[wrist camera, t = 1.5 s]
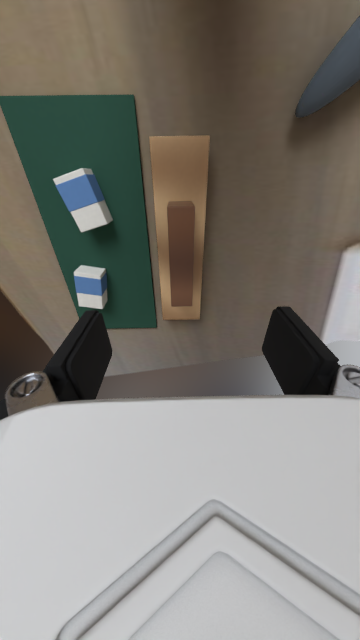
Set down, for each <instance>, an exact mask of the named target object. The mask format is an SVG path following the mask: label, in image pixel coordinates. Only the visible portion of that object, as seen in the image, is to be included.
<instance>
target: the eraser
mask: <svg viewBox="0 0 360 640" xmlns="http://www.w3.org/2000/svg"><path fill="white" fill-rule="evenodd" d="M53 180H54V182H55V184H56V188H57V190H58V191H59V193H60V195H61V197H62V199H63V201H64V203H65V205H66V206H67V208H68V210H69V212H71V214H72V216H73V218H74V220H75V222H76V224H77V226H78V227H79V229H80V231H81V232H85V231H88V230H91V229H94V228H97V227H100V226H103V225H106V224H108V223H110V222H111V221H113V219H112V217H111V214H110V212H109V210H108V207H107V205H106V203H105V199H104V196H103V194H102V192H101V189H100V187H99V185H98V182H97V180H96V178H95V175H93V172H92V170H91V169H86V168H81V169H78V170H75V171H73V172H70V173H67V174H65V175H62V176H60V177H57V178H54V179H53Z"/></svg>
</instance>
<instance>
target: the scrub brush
mask: <svg viewBox="0 0 360 640" xmlns="http://www.w3.org/2000/svg"><path fill="white" fill-rule="evenodd" d="M149 140H150V154H151V167H152V180H153V194H154V207H155V221H156V234H157V248H158V261H159V274H160V288H161V301H162V315H163V320H183V319H200V303H201V285H202V268H203V250H204V232H205V214H206V196H207V179H208V161H209V143H210V136H149Z"/></svg>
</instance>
